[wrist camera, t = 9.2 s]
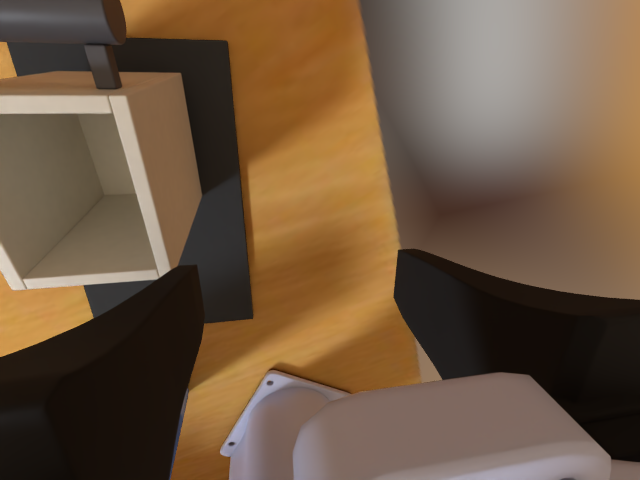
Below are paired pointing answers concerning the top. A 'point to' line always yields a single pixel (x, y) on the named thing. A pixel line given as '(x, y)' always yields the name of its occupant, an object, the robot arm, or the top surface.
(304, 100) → the top surface
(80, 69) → the mat
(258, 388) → the robot arm
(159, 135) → the white case
